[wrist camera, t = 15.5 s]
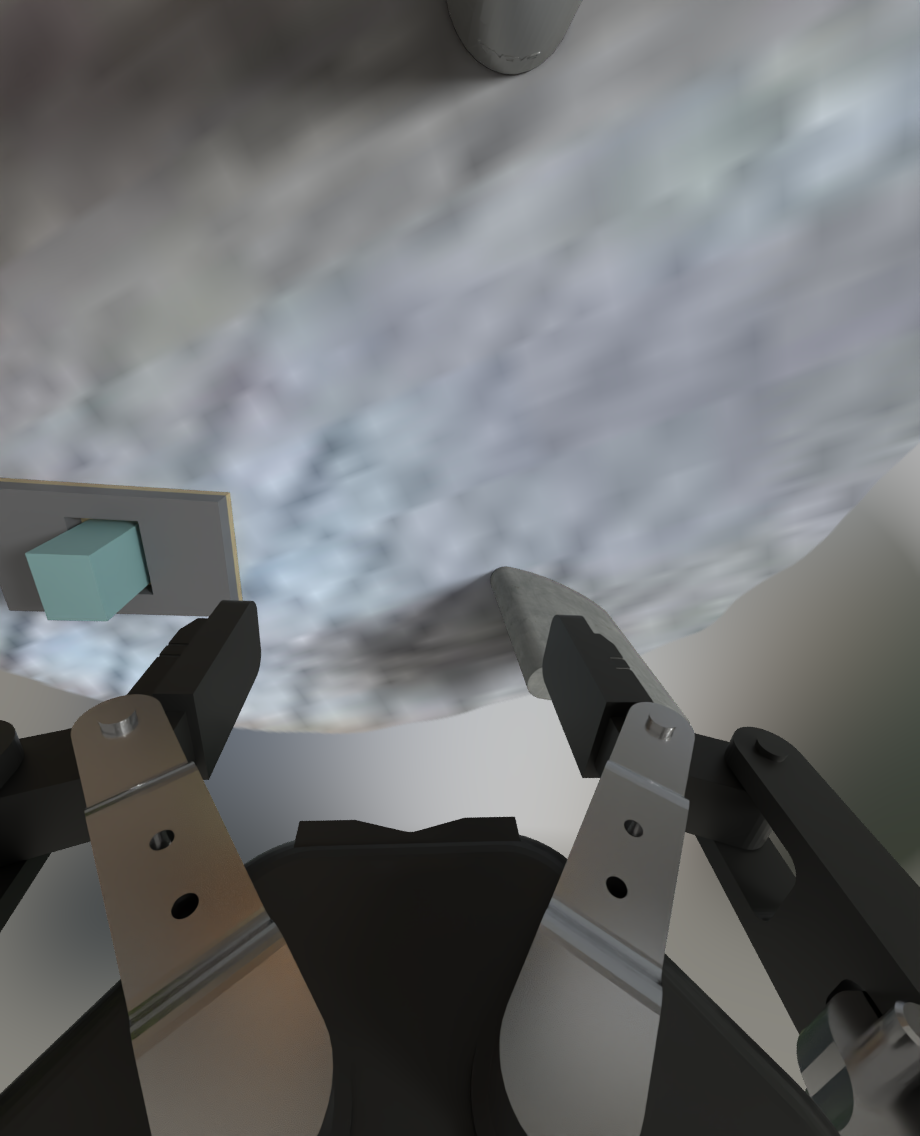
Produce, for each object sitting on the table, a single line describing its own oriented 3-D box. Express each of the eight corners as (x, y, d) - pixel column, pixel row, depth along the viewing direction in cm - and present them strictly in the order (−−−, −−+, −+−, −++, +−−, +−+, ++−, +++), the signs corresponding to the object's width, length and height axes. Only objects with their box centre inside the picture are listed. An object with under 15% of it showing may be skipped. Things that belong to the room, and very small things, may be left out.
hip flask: (485, 585, 51) (527, 715, 33) (503, 555, 49) (557, 673, 31) (598, 634, 55) (690, 772, 37) (618, 608, 54) (723, 737, 36)
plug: (90, 518, 42) (24, 553, 35) (142, 521, 43) (89, 555, 36) (105, 576, 45) (47, 620, 38) (155, 578, 45) (107, 621, 38)
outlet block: (-7, 477, 41) (-37, 486, 38) (229, 492, 43) (217, 501, 41) (33, 595, 46) (9, 610, 43) (242, 602, 48) (232, 616, 46)
